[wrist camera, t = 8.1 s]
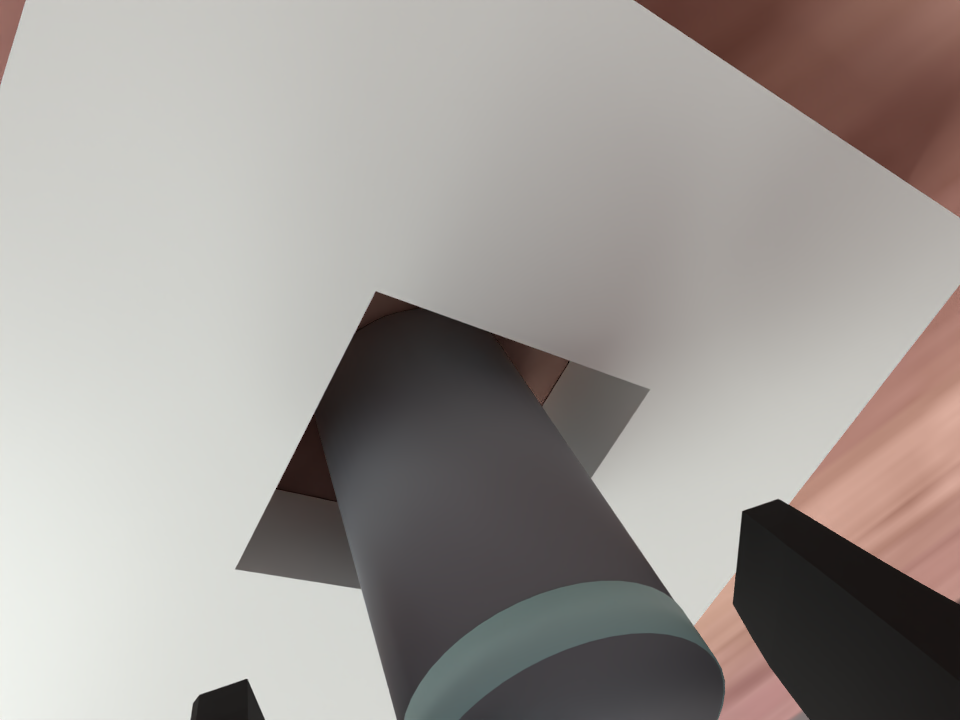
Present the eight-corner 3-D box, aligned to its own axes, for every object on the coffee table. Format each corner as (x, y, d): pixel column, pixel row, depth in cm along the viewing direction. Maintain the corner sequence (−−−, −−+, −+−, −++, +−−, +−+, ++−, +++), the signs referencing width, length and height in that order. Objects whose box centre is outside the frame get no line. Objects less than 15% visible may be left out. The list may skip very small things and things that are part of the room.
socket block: (-153, 637, 15) (-202, 758, 13) (134, -302, 10) (127, -338, 8) (535, 701, 23) (570, 783, 21) (900, 195, 18) (993, 240, 16)
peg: (280, 454, 16) (360, 857, 10) (367, 278, 15) (528, 611, 8) (453, 494, 18) (615, 851, 12) (544, 343, 17) (783, 651, 10)
